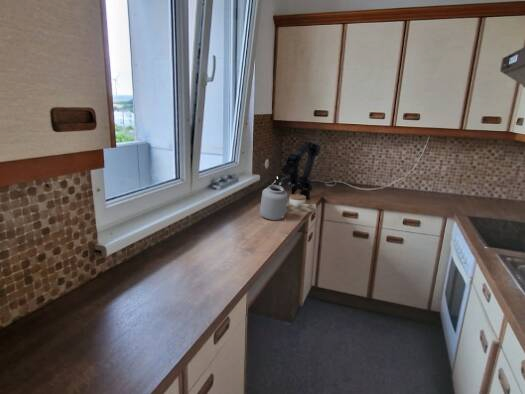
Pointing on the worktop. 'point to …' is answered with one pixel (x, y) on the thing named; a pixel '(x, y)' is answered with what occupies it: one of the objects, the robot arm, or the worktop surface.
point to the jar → (273, 202)
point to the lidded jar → (297, 199)
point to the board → (300, 208)
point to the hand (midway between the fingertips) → (292, 195)
